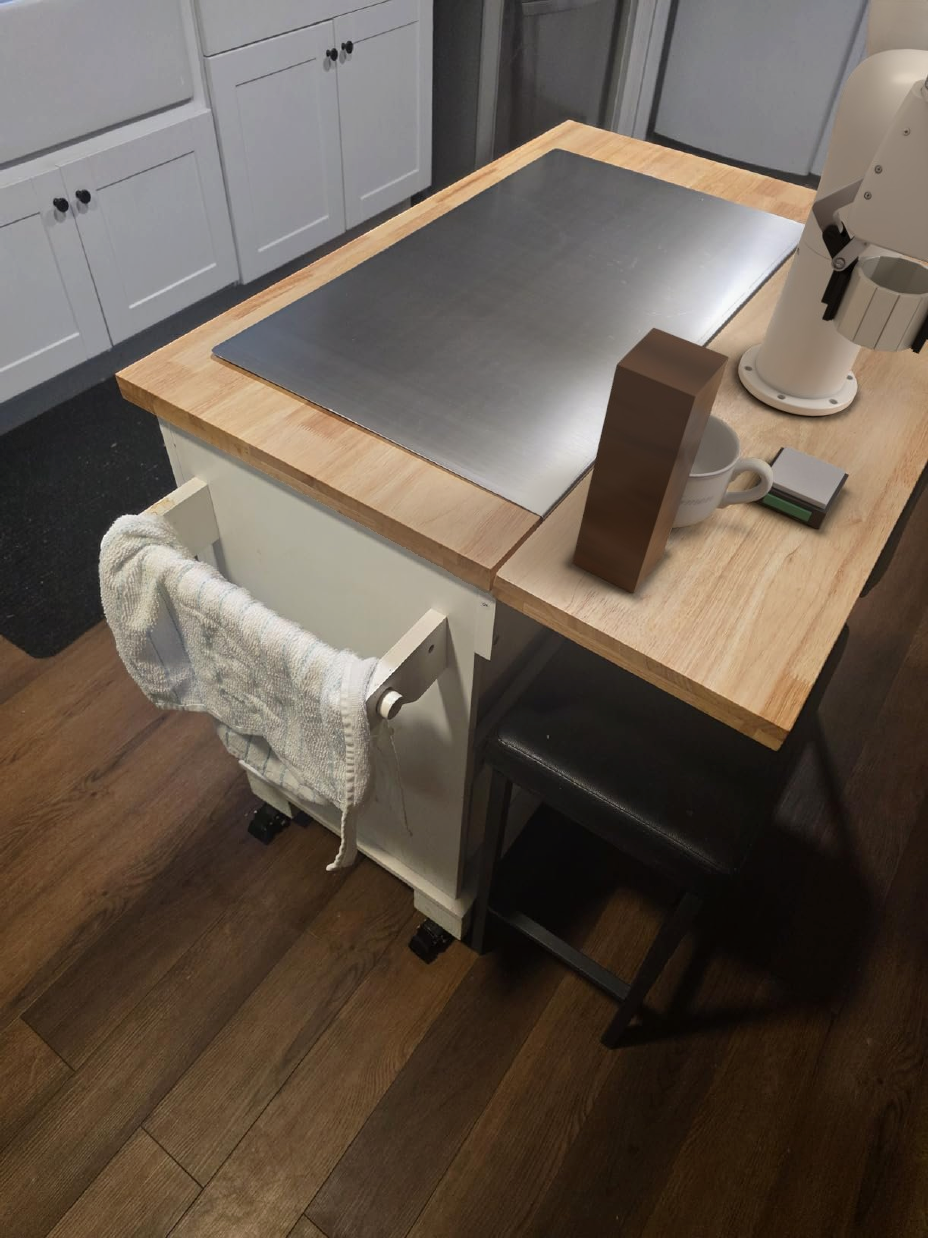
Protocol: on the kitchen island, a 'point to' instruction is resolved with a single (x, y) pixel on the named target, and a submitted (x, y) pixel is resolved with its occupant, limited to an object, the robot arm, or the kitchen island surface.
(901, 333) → the white faceted cup
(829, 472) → the scale
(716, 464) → the teacup
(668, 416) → the block
